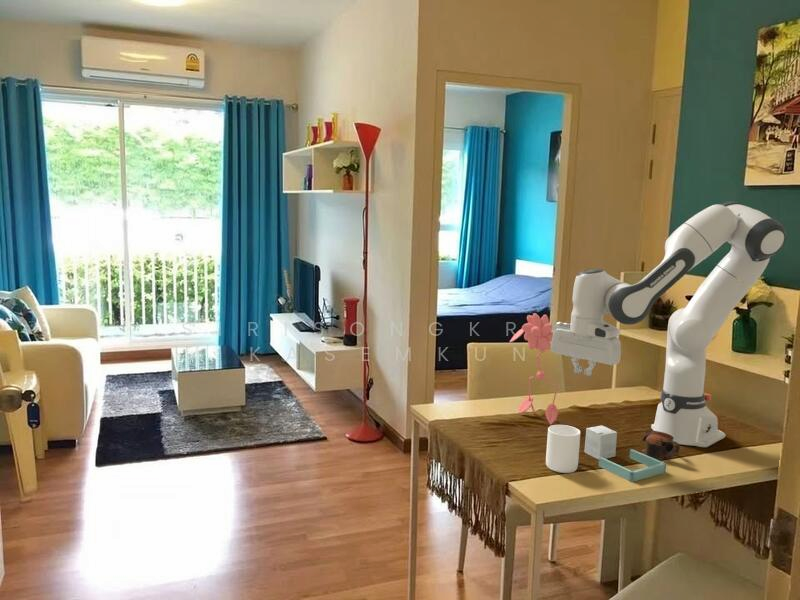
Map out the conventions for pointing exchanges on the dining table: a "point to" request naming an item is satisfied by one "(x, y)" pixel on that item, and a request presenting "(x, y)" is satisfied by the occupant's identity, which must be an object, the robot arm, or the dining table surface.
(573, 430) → the mug
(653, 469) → the u-shaped bracket
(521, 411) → the pink flower stem
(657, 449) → the pottery mug
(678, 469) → the dining table surface
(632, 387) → the dining table surface
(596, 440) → the skincare box
